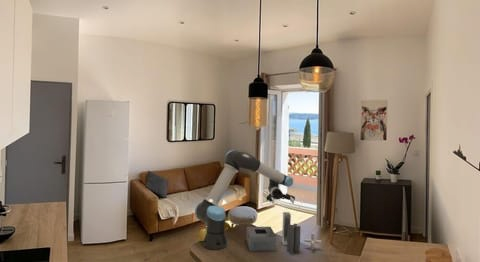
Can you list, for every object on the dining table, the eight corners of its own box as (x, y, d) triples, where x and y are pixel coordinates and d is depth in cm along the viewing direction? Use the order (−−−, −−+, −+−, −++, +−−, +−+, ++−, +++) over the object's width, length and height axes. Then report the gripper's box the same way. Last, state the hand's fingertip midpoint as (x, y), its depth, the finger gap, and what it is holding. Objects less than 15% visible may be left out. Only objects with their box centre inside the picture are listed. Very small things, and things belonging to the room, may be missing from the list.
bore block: (249, 251, 179) (250, 236, 179) (246, 240, 195) (246, 226, 195) (275, 250, 181) (275, 236, 181) (270, 239, 197) (270, 226, 197)
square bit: (283, 245, 189) (284, 214, 188) (282, 242, 193) (283, 212, 192) (289, 244, 190) (290, 214, 189) (288, 242, 194) (289, 212, 193)
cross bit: (285, 252, 179) (286, 226, 178) (288, 247, 186) (289, 222, 185) (298, 255, 176) (298, 228, 175) (300, 250, 183) (301, 224, 182)
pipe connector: (321, 253, 179) (321, 237, 178) (304, 251, 181) (304, 235, 180) (320, 246, 189) (320, 231, 188) (304, 244, 191) (304, 229, 190)
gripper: (292, 198, 223) (301, 206, 202) (260, 198, 220) (265, 207, 199) (292, 188, 222) (301, 196, 201) (260, 188, 220) (265, 196, 199)
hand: (283, 201), depth 200 cm, fingers open, 13 cm apart
